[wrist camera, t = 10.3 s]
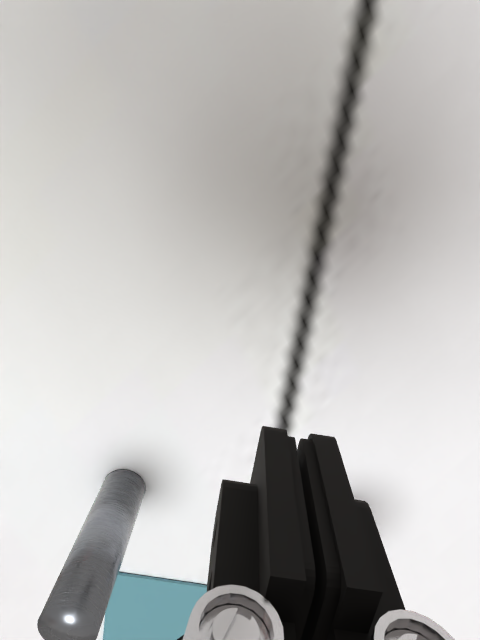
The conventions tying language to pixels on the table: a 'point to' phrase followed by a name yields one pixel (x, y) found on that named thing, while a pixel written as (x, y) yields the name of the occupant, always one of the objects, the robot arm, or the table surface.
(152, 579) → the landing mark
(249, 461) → the table surface
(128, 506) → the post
